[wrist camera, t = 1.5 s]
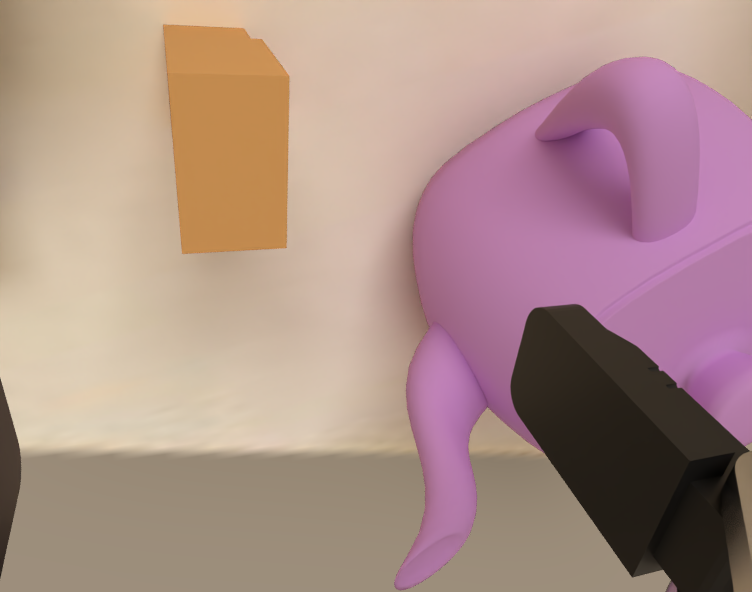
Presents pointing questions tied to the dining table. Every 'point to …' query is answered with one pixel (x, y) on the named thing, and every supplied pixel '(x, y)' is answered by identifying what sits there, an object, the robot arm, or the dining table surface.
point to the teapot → (580, 262)
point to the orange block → (228, 139)
